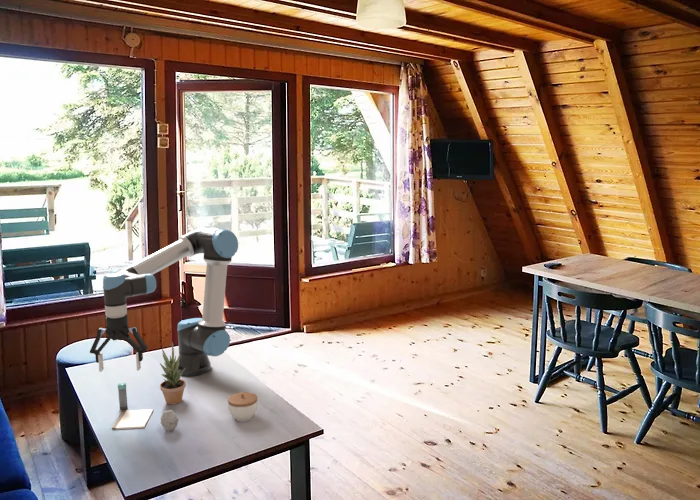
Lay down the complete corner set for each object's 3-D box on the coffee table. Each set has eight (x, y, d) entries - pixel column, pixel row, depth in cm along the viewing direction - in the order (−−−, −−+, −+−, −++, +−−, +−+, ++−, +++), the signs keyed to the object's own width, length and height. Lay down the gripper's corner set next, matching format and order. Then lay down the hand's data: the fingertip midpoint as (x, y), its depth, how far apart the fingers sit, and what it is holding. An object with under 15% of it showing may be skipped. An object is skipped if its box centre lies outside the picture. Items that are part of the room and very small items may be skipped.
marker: (128, 407, 227) (127, 382, 225) (126, 410, 224) (124, 385, 222) (120, 407, 227) (118, 383, 225) (118, 411, 224) (116, 386, 222)
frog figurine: (173, 423, 213) (172, 405, 212) (182, 430, 208) (181, 412, 207) (157, 429, 209) (156, 410, 208) (166, 436, 204) (165, 417, 203)
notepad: (153, 410, 224) (153, 409, 224) (144, 428, 210) (144, 426, 210) (123, 411, 223) (123, 410, 223) (112, 429, 209) (112, 427, 209)
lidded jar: (230, 411, 223) (229, 388, 221) (259, 410, 224) (258, 387, 222) (226, 425, 212) (225, 400, 211) (257, 423, 213) (256, 399, 211)
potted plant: (163, 408, 226) (159, 346, 221) (159, 399, 234) (155, 339, 230) (190, 403, 230) (186, 342, 226) (184, 394, 239) (181, 335, 234)
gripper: (153, 311, 224) (156, 365, 227) (84, 313, 221) (89, 367, 225) (148, 317, 216) (152, 372, 220) (77, 319, 214) (82, 374, 218)
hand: (120, 369), depth 222 cm, fingers open, 13 cm apart
